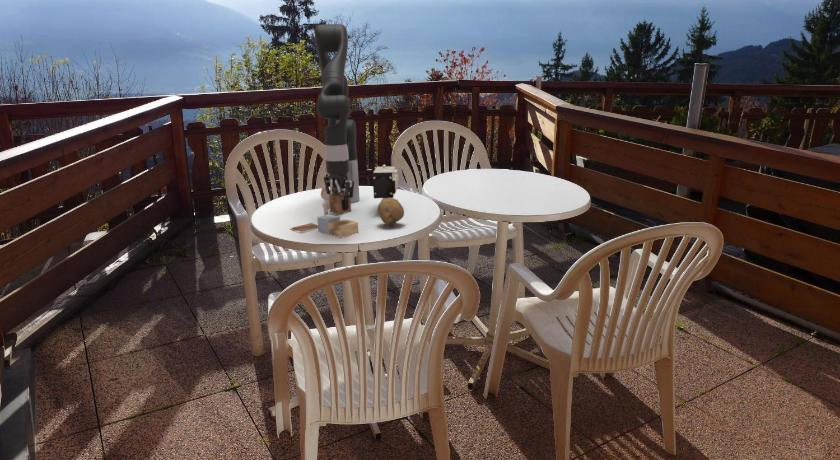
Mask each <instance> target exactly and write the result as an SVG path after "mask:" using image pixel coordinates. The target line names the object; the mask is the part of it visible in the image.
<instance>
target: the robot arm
mask: <svg viewBox="0 0 840 460" xmlns="http://www.w3.org/2000/svg"><path fill="white" fill-rule="evenodd" d="M348 39H349V36H348V30H347V27H346V26H345V25H344V24H341V23H333V24H332V23H330V24H329V23H328V24H318V25H316V26H315V28H314V41H315V46H316V52H317V55H318V61H319V64H320V65H319V66H320V72H321V79H322V87H321V88H322V89H321V92H320V93H319V96H318V98H317V102H316V105H315V106H316V112H317V114H318V116H319V117H321V118H322V119H327V124H328V125H327V126H326V127H324V130H323V131H324V132H323V134H324V145H325V147H324V156H325V157H324V158H325V171H326V173H327V174H328V175H327V176H324V177H323V183H324V184H325V187H326V192H327V194H333V193H338V192H339V193H340V194H341V198H342V210H343V211H346V210H348V209H349V198H350V200H351V203H357V202H359V201H360V199H361V198H360V183H359V182H360V181H359V169H358V168H359V165H358V152H357V127H356V126H357V124H356V122H355V120H354V119H349V115H350V111H351V101H350V99H349V95H350V94H349V84H348V79H347V77H346V75H345V68H346V62H347V55H348V48H349V46H348V45H349V40H348ZM330 53H334V56H333V57H332V58H331V57H330ZM344 188H345V190H342V189H344ZM344 192H345V196H344ZM349 192H350V193H349Z"/></svg>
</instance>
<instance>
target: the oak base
mask: <svg viewBox="0 0 840 460" xmlns="http://www.w3.org/2000/svg"><path fill="white" fill-rule="evenodd" d="M328 228H329V234H328V235H330V234H332V235H331V236H334V235H335V236H334V237H337V236H339V237H338V238H341V237H344V238H347V237H350V236H353V235H352V234H354V235H356V234H355V233H357V234H359V223H358V221H354V220H350V219H344V218H341V219H340V220H339V221H335V222H332V223H328ZM349 235H350V236H349ZM346 236H347V237H346Z"/></svg>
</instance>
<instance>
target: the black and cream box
mask: <svg viewBox="0 0 840 460" xmlns="http://www.w3.org/2000/svg"><path fill="white" fill-rule="evenodd" d="M398 170H399V169H398V168H397V169H396V166H395V165H388V166H387V165H386V164H383V165H381V166H380V165H379V166H377V167H376V168H375V169H374V170H373V172H372V186H373V188H372V189H373V199H381V201H382V200H384V199H387V198H394V196H395V194H396V193H397V190H398V188H399V186H400V185H399V184H400V183H399V173H398V172H399V171H398ZM396 200H397V201H399V200H398V199H396ZM381 201H380V202H381Z"/></svg>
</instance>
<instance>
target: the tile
mask: <svg viewBox="0 0 840 460" xmlns="http://www.w3.org/2000/svg"><path fill="white" fill-rule="evenodd" d="M289 230H290V231H292V232H296V233H299V234H304V233H308V232H311V231H315V230H318V224H317V223H316V224H315V223H312V222H310V223H306V224H301V225H298V226H292V227H290V228H289Z"/></svg>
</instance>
